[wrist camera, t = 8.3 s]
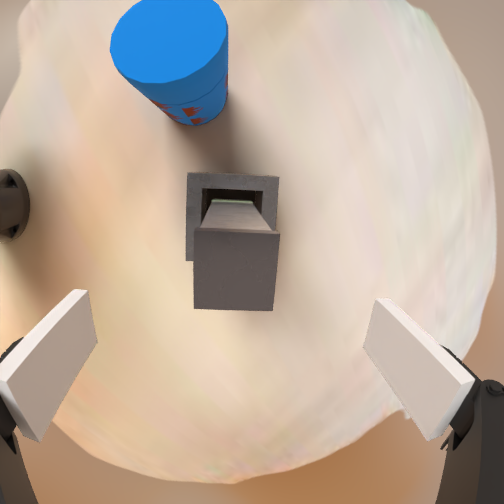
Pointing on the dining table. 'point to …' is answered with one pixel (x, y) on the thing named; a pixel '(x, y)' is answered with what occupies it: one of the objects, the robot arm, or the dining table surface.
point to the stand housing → (203, 180)
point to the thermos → (175, 56)
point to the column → (234, 258)
